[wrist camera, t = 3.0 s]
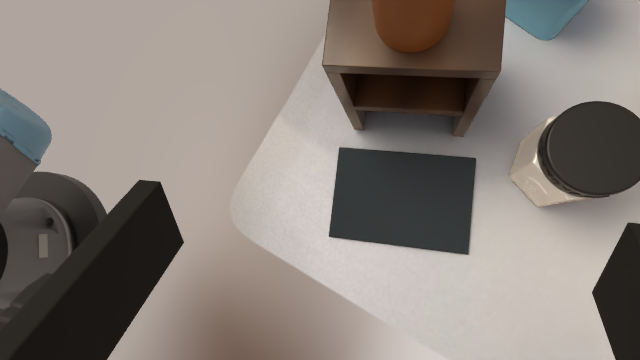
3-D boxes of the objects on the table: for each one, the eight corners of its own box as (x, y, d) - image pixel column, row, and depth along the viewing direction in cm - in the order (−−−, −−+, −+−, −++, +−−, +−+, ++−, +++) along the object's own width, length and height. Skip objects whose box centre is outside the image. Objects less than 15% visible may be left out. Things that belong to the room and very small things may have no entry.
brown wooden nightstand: (354, 129, 51) (321, 65, 32) (363, 52, 52) (336, -55, 33) (463, 136, 48) (500, 71, 29) (470, 55, 49) (511, -60, 30)
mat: (329, 236, 50) (328, 236, 50) (340, 148, 51) (339, 147, 51) (467, 254, 47) (468, 254, 46) (475, 158, 48) (475, 158, 47)
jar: (492, 162, 47) (520, 139, 36) (549, 116, 47) (597, 77, 35) (550, 223, 45) (599, 220, 34) (610, 176, 45) (682, 156, 33)
